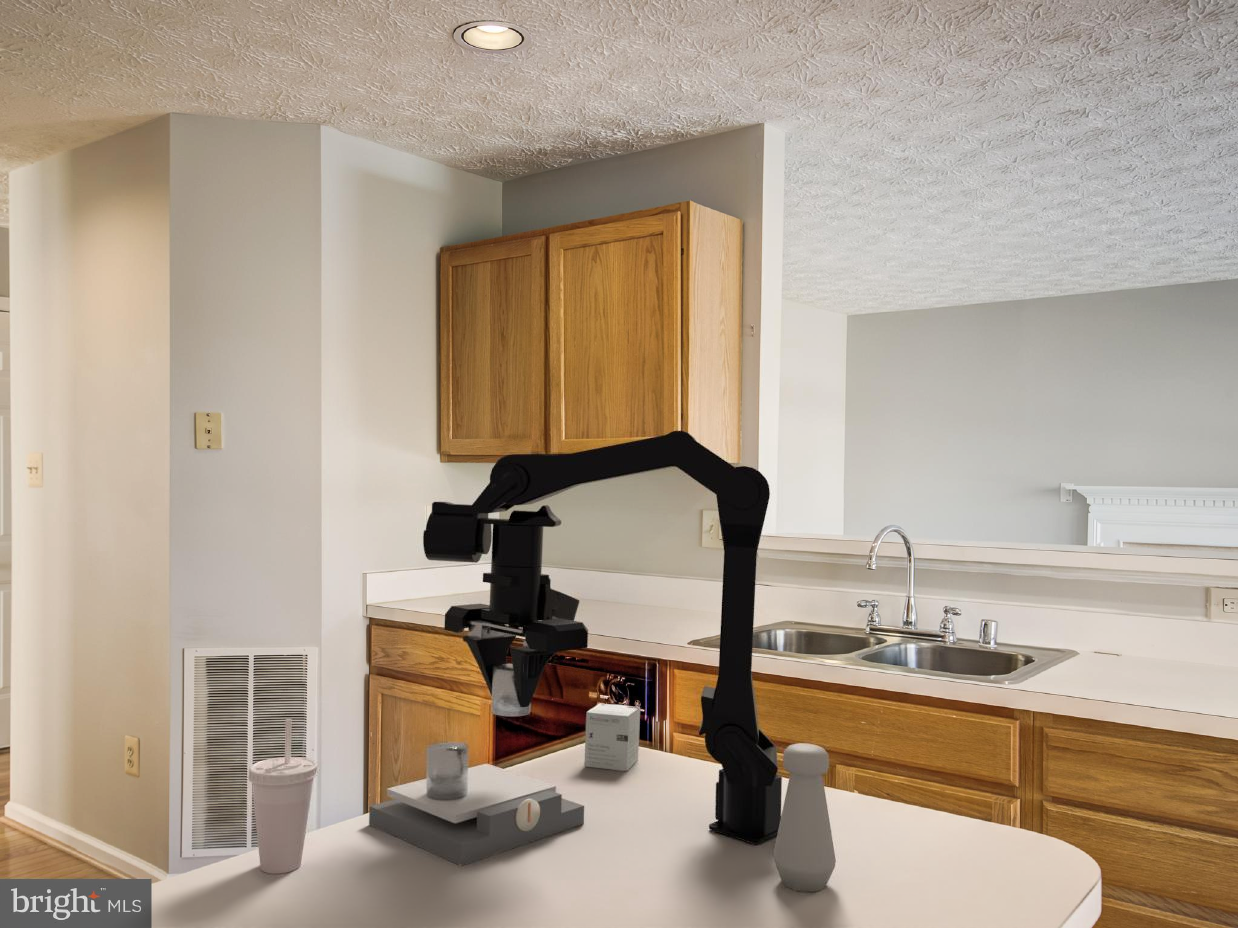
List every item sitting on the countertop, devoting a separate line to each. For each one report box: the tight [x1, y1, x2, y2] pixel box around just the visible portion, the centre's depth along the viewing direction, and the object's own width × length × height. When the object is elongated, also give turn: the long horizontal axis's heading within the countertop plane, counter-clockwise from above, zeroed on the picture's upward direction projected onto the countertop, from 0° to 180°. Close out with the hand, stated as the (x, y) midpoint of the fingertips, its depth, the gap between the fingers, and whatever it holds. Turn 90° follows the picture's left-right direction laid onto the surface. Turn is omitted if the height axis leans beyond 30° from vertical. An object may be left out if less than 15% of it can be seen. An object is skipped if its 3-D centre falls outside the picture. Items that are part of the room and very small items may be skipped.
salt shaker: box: [773, 742, 837, 893], centre depth 95 cm, size 6×6×13 cm
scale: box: [368, 763, 585, 867], centre depth 109 cm, size 16×17×5 cm
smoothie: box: [247, 718, 318, 875], centre depth 96 cm, size 6×6×14 cm
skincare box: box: [583, 702, 641, 772], centre depth 133 cm, size 6×6×7 cm
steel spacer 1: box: [426, 741, 469, 800], centre depth 107 cm, size 4×4×5 cm
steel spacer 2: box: [490, 663, 532, 717], centre depth 113 cm, size 4×4×5 cm
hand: (510, 702), depth 113 cm, fingers closed on steel spacer 2, 4 cm apart
